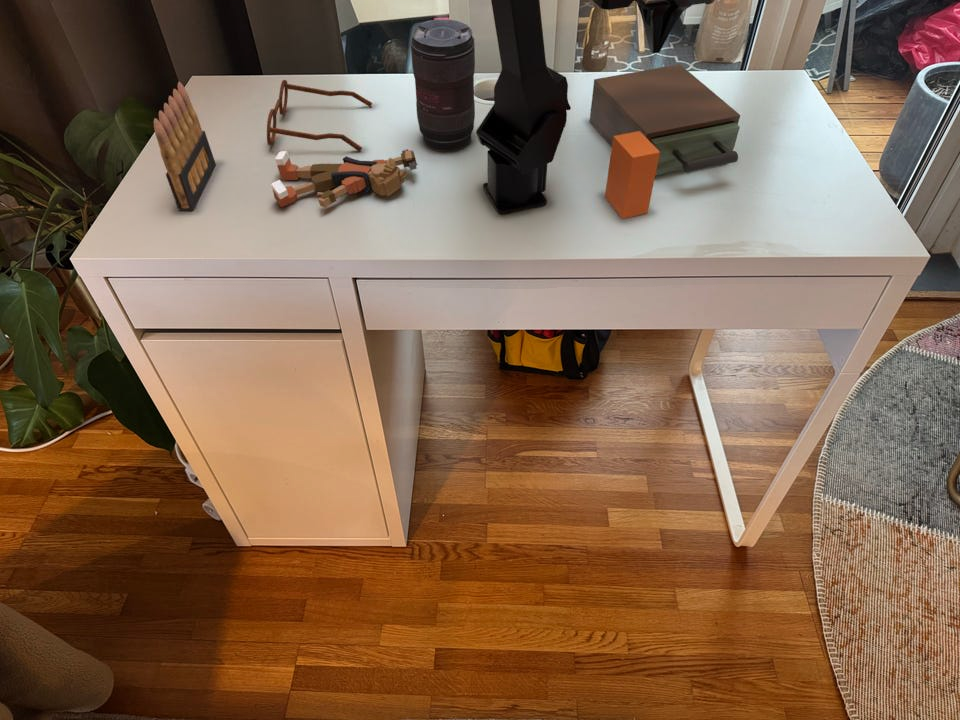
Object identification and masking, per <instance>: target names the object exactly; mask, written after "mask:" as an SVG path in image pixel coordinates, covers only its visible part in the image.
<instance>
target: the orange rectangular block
mask: <svg viewBox="0 0 960 720" xmlns="http://www.w3.org/2000/svg"><path fill="white" fill-rule="evenodd" d="M659 154H660V152H659V151H658V149H657V148H656V147H655V146H654V145H653V144H652V143H651V142H650V141H649V140H648V139H647V138H646V137H645V136H644V135H643V134H642V133H641V132H640V131H637V132H632V133H627V134H622V135H617V136H613V143H612V147H611V151H610V158H609V164H608V171H607V178H606V186H605V191H604V198H605V199H606V200H607V202H608V203H609V204H610V205H611V206H612V208H613V209H614V210H615V212H616V213H617V214H618V216H619V217H620V218H621V219H623V220H624V219H628V218H632V217H637V216H642V215H646V214H648V213H649V208H650V204H651V198H652V194H653V188H654V184H655V180H656V175H655V174H656V169H657V164H658V159H659Z"/></svg>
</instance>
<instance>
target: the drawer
mask: <svg viewBox="0 0 960 720" xmlns="http://www.w3.org/2000/svg"><path fill="white" fill-rule="evenodd" d="M740 128H741V126H740V125H739V124H738V125H737V124H736V123H735V122H734V123H729V124H724V123H722V124H717V125H712V126H707V127H702V128H697V129H692V130H687V131H682V132H677V133H672V134H667V135H662V136H657V137H652V138H651V140H650V142H651V143H652V144H653V145H654V146H655V147H656V148H657V149H658V151H659V152H660V154H659V159H658V164H657V169H656V174H655V176H657V175H661V174H667V173H671V172H676V171H681V170H683V172H684V173H686V174H687V173H692V172H697V171H701V170H706V169H710V168H711V169H712V168H715V167H720V166H724V165H729V164H733V163H737V162H738V160H739V154H738V152H737V151H736V150H734V149H735V146H736V142H737V139H738V135H739V131H740Z"/></svg>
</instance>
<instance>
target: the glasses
mask: <svg viewBox="0 0 960 720" xmlns="http://www.w3.org/2000/svg"><path fill="white" fill-rule="evenodd" d="M289 90H292V91H299V92H304V93H308V94H309V93H310V94H315V95H320V96H321V95H322V96H327V97H336V96H345V97H346V96H348V97H352V98H353V99H356V100H357V101H360V102H361V103H363V104H364V105H366V106H368V107H370V108H371V107H372V105H373V102H372V101H370V100H369V99H367V98H366V97H363V96H362V95H361V94H358V93H356V92H355V91H349V90H332V91H331V90H326V89H320V88H313V87H310V86H309V87H308V86H302V85H297V84H292V83H288V81H287V79H282V80H281V84H280V88H279V94H278V99H277V100H276V102H275V105H274V108H271V109H270V110H269V112H268V116H267V122H266V142H267V145H268V146H273V145H274V142H275V139H276V135H283V136H288V137H295V138H301V139H306V140H307V139H308V140H312V141H320V140H326V139H336V140H337V139H338V140H339V139H340V140H341V141H343V142H345V143H346V144H347V145H349V146H350V147H351V148H353V149H355V150H356V151H358V152H361V151H362V150H363V146H361V145H360V144H358V143H357V142H355V141H354V140H352V139H350V138H349V137H348V136H346V135H345V134H341V133H334V132H333V133H331V132H328V133H321V134H320V133H319V134H314V133H308V132H302V131H295V130H290V129H284V128H279V127H278V128H277V115H278V111H279V115H281V116H285V114H286V111H287V105H288V97H289ZM283 93H284V94H283ZM283 96H284V98H283ZM271 124H272V125H271ZM271 126H272V127H271Z"/></svg>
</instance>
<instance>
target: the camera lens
mask: <svg viewBox="0 0 960 720" xmlns="http://www.w3.org/2000/svg"><path fill="white" fill-rule="evenodd" d="M475 46H476V45H475V38H474V36H473V30H472V28H471V27H470V25H468V24H466V23H464V22H462V21H459V20H455V19H445V18H440V19H439V18H438V19H432V20H430V19H429V20H426V21H423V22H421V23H419V24H418V25H416V26H415V27H414V28H413V29H412V32H411V42H410V52H411V64H412V65H411V66H412V71H413V78H414V84H415V85H414V86H415V98H416V99H415V101H416V102H415V107H416V118H417V123H418V130H419V133H420V134H421V135H422V138H423V143H424V145H425V146H426V147H428V148H430V149H431V150H434V151H438V152H454V151H458V150H461V149H464V148H465V147H467V146H468V145H469V144H470V143H471V141H472V132H473V131H474V130H475V129H474V128H475V117H476V107H475V105H476V103H475V102H476V101H475V80H474V79H475V77H474V75H475V69H476V60H475V59H476V56H475V55H476V51H475V50H476V49H475Z"/></svg>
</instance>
